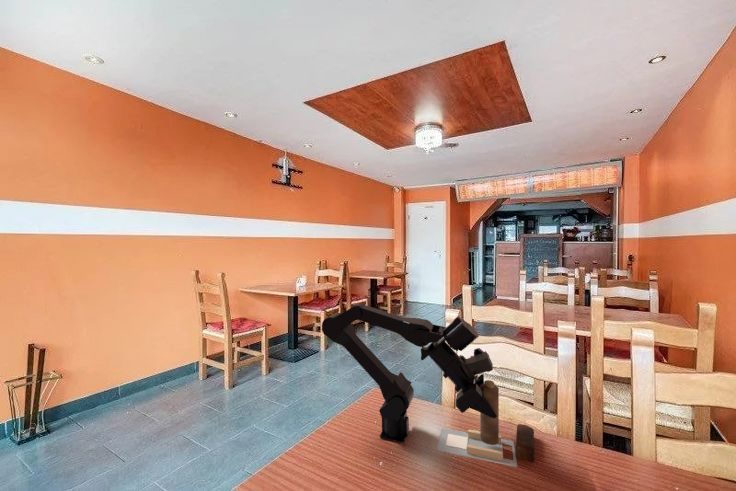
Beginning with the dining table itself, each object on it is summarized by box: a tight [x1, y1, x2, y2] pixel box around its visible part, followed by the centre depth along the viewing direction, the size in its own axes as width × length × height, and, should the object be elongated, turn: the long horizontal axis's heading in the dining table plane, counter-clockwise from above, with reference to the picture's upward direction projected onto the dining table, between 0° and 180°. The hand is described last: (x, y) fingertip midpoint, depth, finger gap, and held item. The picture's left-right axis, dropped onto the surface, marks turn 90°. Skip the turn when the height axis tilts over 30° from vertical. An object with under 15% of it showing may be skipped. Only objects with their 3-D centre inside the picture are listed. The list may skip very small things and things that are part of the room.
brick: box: [515, 423, 536, 463], centre depth 79 cm, size 11×4×5 cm, turn 153°
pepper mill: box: [479, 379, 500, 445], centre depth 79 cm, size 4×4×14 cm
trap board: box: [436, 427, 518, 468], centre depth 80 cm, size 18×10×3 cm, turn 70°
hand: (495, 412), depth 78 cm, fingers closed on pepper mill, 4 cm apart
